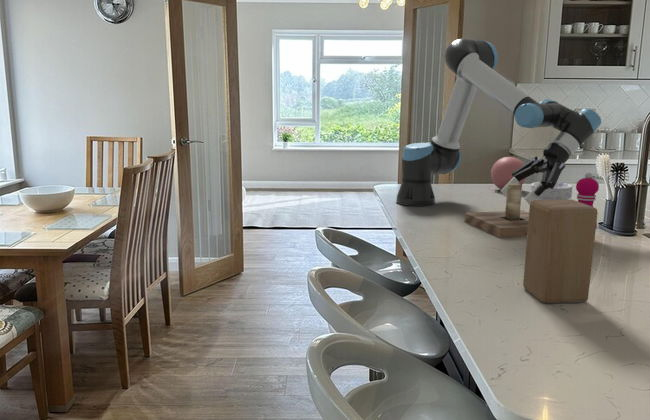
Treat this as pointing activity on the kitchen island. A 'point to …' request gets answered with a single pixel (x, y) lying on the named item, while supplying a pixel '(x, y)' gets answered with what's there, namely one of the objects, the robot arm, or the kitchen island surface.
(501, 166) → the balloon
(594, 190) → the pepper mill
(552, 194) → the paper bowls
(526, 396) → the kitchen island surface
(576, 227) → the wooden block
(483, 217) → the walnut board
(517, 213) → the beech peg
